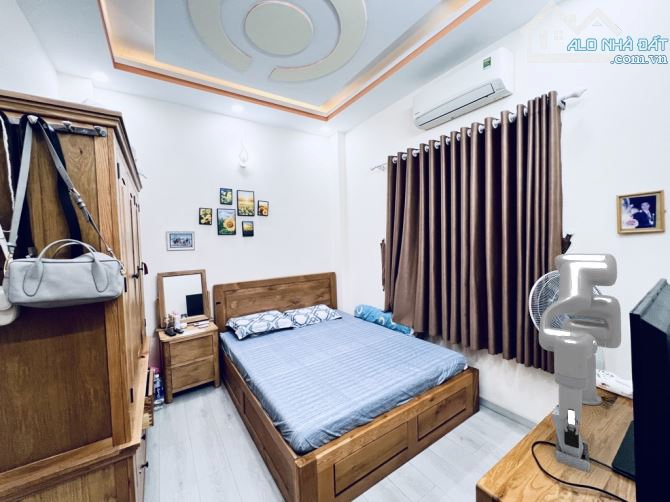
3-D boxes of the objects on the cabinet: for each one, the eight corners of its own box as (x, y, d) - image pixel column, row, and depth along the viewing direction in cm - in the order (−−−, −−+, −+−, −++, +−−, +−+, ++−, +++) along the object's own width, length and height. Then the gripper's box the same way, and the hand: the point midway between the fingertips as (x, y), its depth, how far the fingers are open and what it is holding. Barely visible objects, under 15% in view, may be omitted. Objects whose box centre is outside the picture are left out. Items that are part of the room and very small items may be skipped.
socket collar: (556, 440, 91) (556, 432, 91) (587, 450, 87) (587, 442, 86) (555, 460, 83) (555, 451, 83) (589, 472, 78) (589, 463, 78)
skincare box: (580, 460, 81) (569, 418, 81) (561, 454, 84) (550, 414, 84) (584, 447, 85) (574, 407, 85) (565, 442, 88) (555, 403, 88)
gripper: (555, 366, 93) (555, 419, 94) (553, 387, 80) (554, 448, 80) (585, 372, 89) (586, 427, 89) (589, 395, 75) (590, 460, 75)
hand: (571, 437), depth 85 cm, fingers open, 8 cm apart
